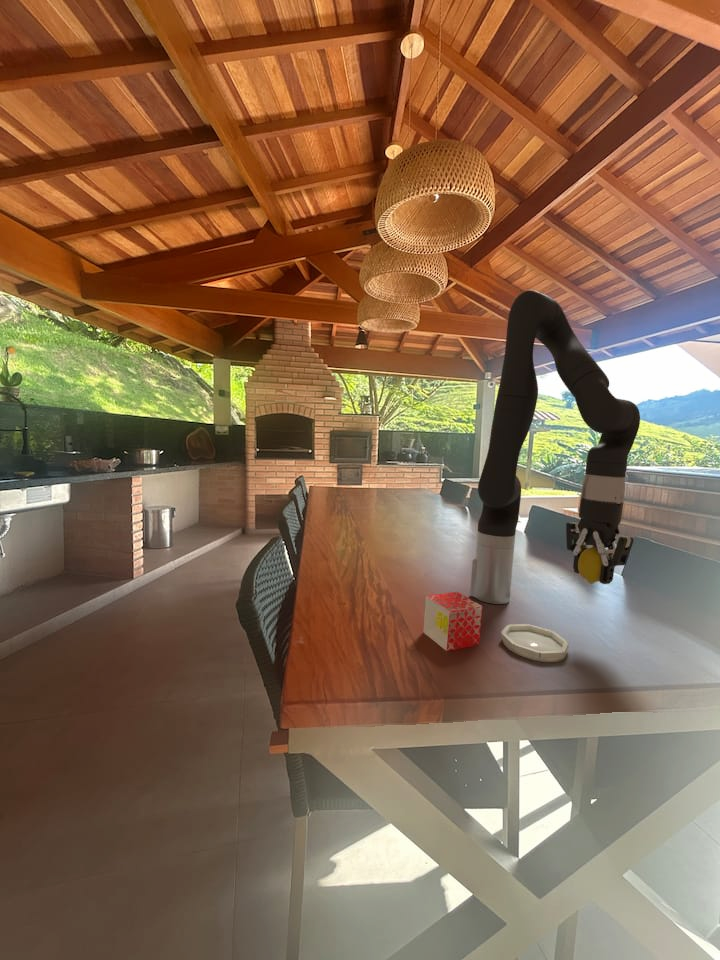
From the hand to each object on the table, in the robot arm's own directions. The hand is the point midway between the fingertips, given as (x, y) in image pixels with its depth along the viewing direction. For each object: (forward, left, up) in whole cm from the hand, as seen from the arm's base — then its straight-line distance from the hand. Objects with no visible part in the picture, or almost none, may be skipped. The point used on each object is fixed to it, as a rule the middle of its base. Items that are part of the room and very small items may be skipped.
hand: (591, 577), depth 83 cm
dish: (-8, -12, -13) cm, 19 cm away
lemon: (0, 0, -2) cm, 2 cm away
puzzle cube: (-22, -20, -13) cm, 32 cm away
